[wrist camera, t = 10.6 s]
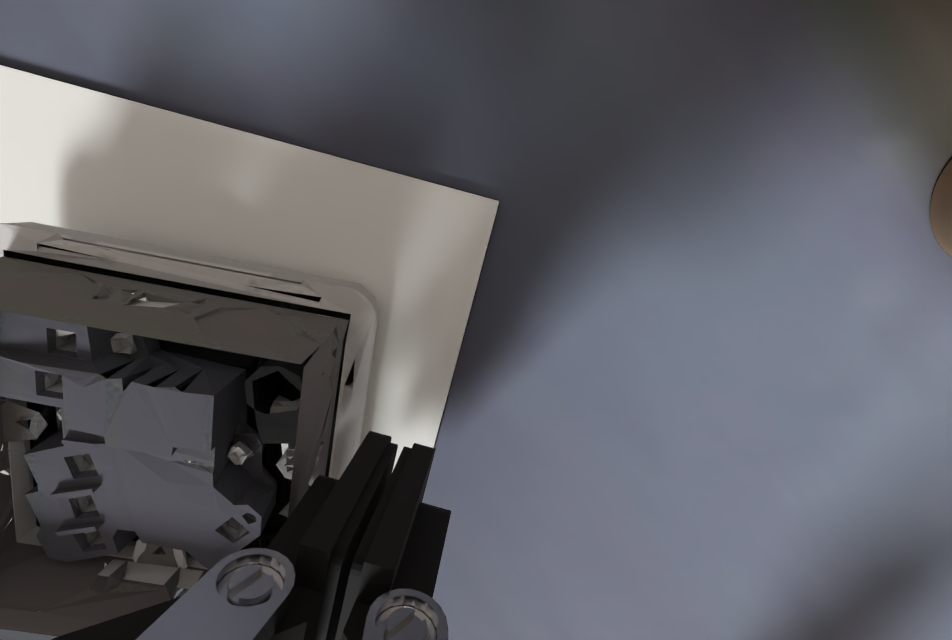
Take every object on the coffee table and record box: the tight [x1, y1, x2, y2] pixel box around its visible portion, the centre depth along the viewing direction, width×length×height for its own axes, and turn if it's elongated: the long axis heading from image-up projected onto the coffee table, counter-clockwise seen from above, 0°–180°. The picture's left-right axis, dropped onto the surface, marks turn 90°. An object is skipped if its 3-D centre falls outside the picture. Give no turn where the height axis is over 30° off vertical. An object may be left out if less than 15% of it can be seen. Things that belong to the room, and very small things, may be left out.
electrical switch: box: [0, 222, 380, 636], centre depth 12 cm, size 9×5×9 cm
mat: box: [0, 65, 499, 472], centre depth 14 cm, size 14×15×1 cm
